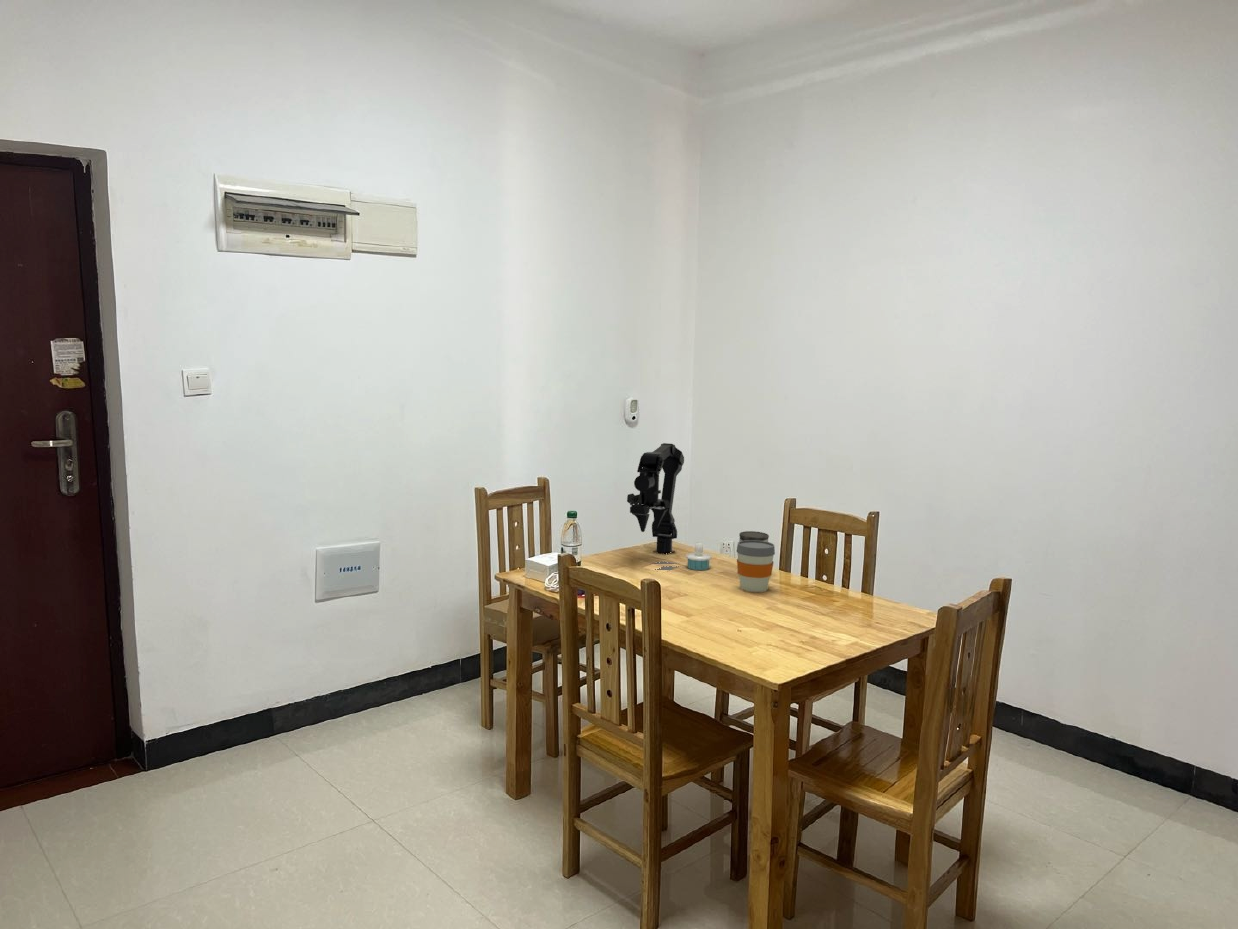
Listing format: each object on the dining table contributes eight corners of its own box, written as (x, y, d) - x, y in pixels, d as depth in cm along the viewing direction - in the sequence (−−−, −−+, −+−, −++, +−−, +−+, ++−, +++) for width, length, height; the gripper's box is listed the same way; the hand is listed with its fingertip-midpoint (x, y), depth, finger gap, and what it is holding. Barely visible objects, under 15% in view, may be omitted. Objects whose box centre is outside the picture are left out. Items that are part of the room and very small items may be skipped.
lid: (693, 553, 315) (694, 539, 315) (715, 557, 310) (716, 543, 310) (681, 558, 308) (682, 543, 307) (703, 562, 303) (704, 547, 302)
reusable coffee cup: (771, 584, 291) (773, 541, 289) (774, 594, 279) (776, 549, 277) (734, 582, 293) (736, 539, 291) (735, 592, 280) (737, 547, 278)
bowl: (693, 564, 315) (694, 554, 315) (712, 568, 311) (713, 557, 310) (683, 568, 309) (683, 558, 308) (702, 572, 304) (702, 561, 304)
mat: (660, 561, 319) (660, 560, 318) (683, 565, 313) (683, 564, 313) (639, 568, 307) (639, 567, 307) (663, 573, 301) (663, 572, 301)
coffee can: (748, 578, 299) (749, 538, 297) (732, 570, 308) (733, 532, 306) (772, 575, 303) (774, 536, 301) (756, 568, 312) (758, 530, 311)
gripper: (645, 482, 324) (644, 523, 326) (618, 488, 308) (616, 530, 311) (671, 485, 318) (669, 527, 320) (644, 491, 302) (642, 535, 304)
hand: (649, 529), depth 314 cm, fingers open, 9 cm apart
